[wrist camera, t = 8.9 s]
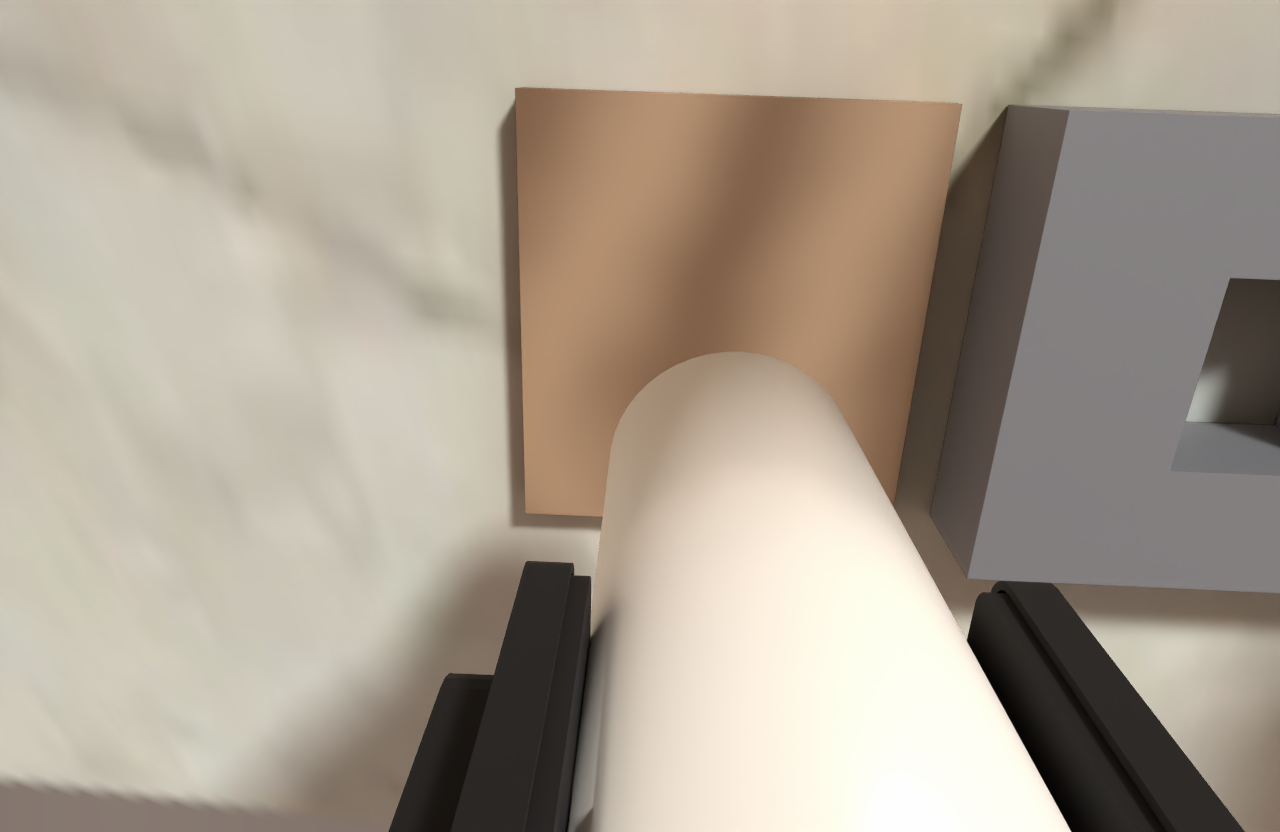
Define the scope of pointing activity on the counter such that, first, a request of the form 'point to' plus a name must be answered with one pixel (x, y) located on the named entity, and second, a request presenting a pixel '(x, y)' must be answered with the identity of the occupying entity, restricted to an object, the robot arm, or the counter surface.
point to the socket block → (1113, 356)
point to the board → (719, 258)
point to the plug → (777, 633)
